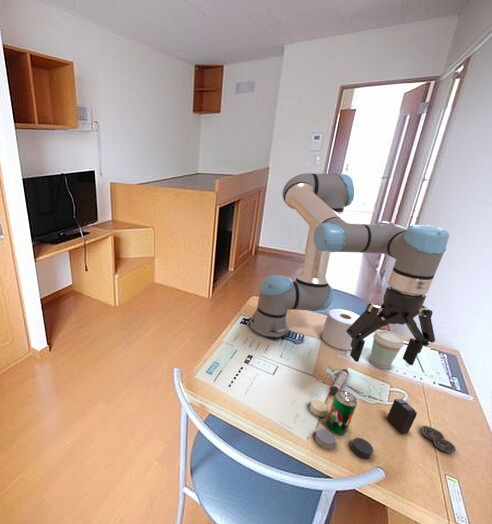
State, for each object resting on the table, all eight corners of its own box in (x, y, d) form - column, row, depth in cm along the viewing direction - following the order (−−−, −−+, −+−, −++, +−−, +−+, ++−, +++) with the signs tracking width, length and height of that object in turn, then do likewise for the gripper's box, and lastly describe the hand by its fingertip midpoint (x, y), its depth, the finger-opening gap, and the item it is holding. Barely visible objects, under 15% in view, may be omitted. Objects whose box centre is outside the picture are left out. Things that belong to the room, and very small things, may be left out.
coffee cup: (384, 356, 115) (394, 329, 110) (399, 372, 107) (411, 344, 102) (360, 354, 116) (369, 328, 111) (374, 370, 108) (384, 342, 103)
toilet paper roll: (357, 339, 124) (365, 315, 120) (353, 354, 116) (361, 328, 111) (324, 328, 131) (331, 305, 127) (318, 341, 123) (325, 317, 119)
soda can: (343, 423, 88) (354, 391, 83) (348, 438, 83) (360, 405, 79) (324, 418, 89) (333, 387, 85) (327, 433, 85) (338, 400, 80)
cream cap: (306, 409, 92) (308, 403, 91) (313, 402, 95) (315, 397, 94) (321, 419, 89) (323, 413, 88) (328, 412, 91) (330, 406, 90)
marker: (341, 372, 107) (342, 368, 106) (347, 375, 105) (349, 370, 105) (327, 396, 97) (328, 391, 96) (334, 399, 96) (335, 394, 95)
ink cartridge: (408, 433, 85) (418, 412, 82) (400, 434, 85) (410, 412, 81) (393, 418, 89) (402, 398, 86) (386, 418, 89) (395, 398, 86)
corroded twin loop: (442, 455, 79) (443, 452, 78) (414, 428, 86) (416, 425, 86) (460, 454, 79) (462, 452, 78) (431, 427, 86) (433, 425, 86)
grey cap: (311, 439, 83) (313, 434, 82) (319, 431, 85) (321, 425, 84) (328, 452, 79) (330, 446, 79) (336, 443, 82) (338, 437, 81)
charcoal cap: (347, 449, 80) (350, 443, 79) (354, 440, 83) (357, 434, 82) (366, 462, 77) (369, 456, 76) (373, 453, 79) (376, 447, 79)
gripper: (361, 294, 71) (339, 366, 79) (476, 299, 69) (441, 373, 77) (344, 280, 78) (325, 348, 86) (448, 285, 76) (419, 354, 84)
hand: (380, 360), depth 82 cm, fingers open, 13 cm apart
